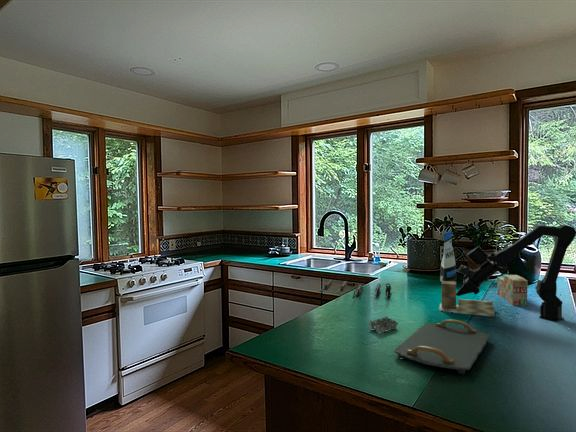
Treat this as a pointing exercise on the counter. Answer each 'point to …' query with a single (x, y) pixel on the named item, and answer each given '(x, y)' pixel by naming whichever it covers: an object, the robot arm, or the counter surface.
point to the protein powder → (448, 260)
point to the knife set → (358, 290)
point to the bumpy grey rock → (383, 324)
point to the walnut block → (448, 294)
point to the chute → (472, 307)
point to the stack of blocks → (513, 289)
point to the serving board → (444, 345)
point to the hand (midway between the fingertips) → (456, 295)
